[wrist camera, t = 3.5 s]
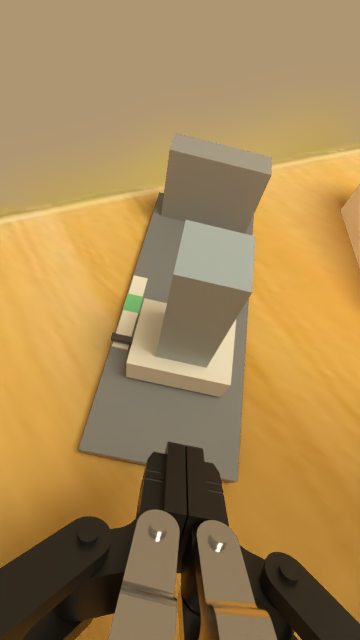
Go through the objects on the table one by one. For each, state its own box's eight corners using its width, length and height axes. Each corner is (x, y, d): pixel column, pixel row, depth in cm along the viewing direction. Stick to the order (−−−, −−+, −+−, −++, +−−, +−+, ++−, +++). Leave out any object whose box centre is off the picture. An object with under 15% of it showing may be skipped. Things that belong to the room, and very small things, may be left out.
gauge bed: (249, 224, 40) (281, 154, 32) (231, 482, 25) (284, 471, 17) (158, 202, 40) (167, 125, 32) (80, 452, 24) (59, 425, 16)
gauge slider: (232, 270, 34) (286, 155, 22) (220, 397, 26) (291, 318, 15) (141, 249, 33) (149, 120, 22) (102, 371, 26) (86, 271, 15)
